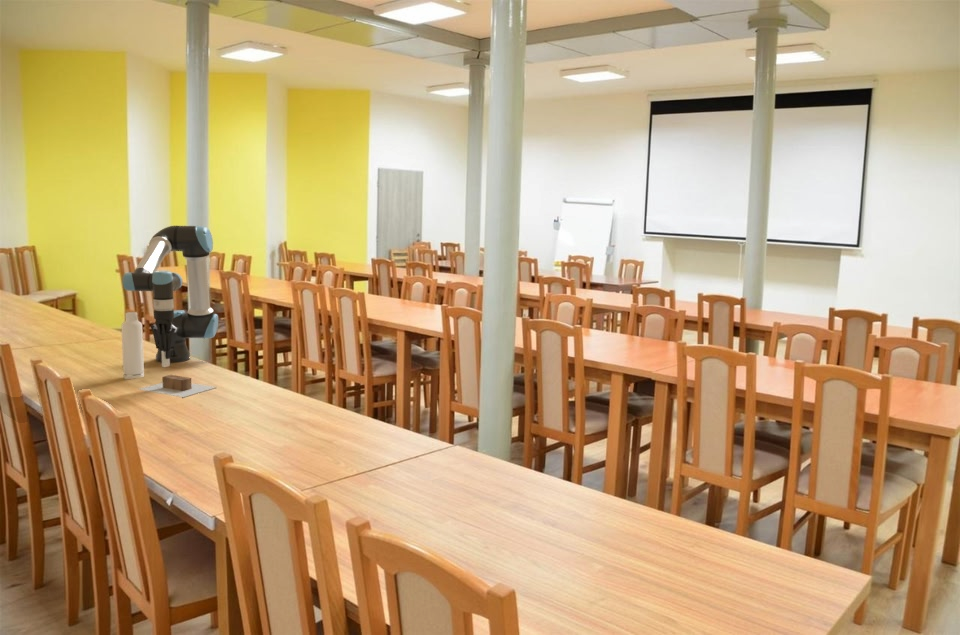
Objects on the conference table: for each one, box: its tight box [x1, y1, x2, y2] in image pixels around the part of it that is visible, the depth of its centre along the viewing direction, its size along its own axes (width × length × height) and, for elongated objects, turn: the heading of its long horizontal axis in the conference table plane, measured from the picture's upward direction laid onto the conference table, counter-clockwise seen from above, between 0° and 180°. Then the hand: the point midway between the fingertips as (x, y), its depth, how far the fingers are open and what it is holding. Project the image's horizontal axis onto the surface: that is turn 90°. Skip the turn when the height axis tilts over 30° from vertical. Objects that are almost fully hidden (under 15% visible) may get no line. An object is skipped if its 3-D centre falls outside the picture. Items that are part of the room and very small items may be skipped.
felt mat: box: [138, 382, 217, 399], centre depth 307 cm, size 18×24×1 cm
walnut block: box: [162, 374, 192, 391], centre depth 306 cm, size 4×4×11 cm
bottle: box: [121, 311, 145, 380], centre depth 322 cm, size 8×8×28 cm
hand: (165, 366), depth 308 cm, fingers closed
